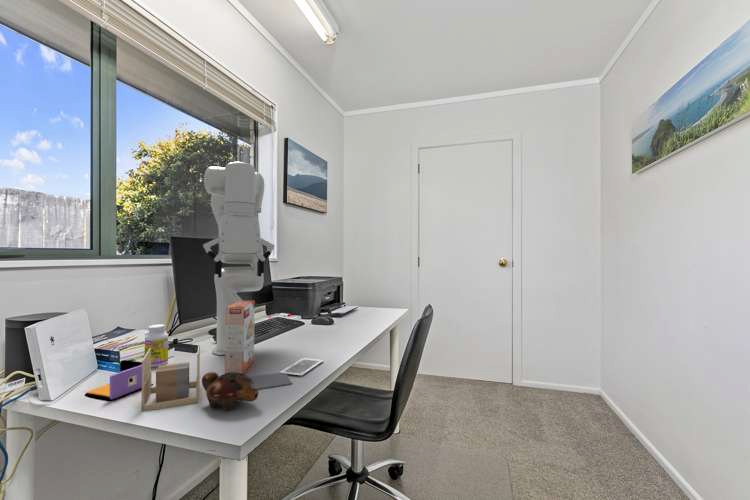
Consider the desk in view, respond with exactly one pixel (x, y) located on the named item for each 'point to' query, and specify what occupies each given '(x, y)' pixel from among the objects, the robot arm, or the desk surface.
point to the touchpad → (301, 366)
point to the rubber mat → (270, 380)
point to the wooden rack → (148, 389)
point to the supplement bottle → (157, 345)
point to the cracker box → (239, 336)
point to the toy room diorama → (120, 383)
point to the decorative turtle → (228, 389)
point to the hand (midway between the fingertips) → (239, 276)
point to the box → (172, 382)
